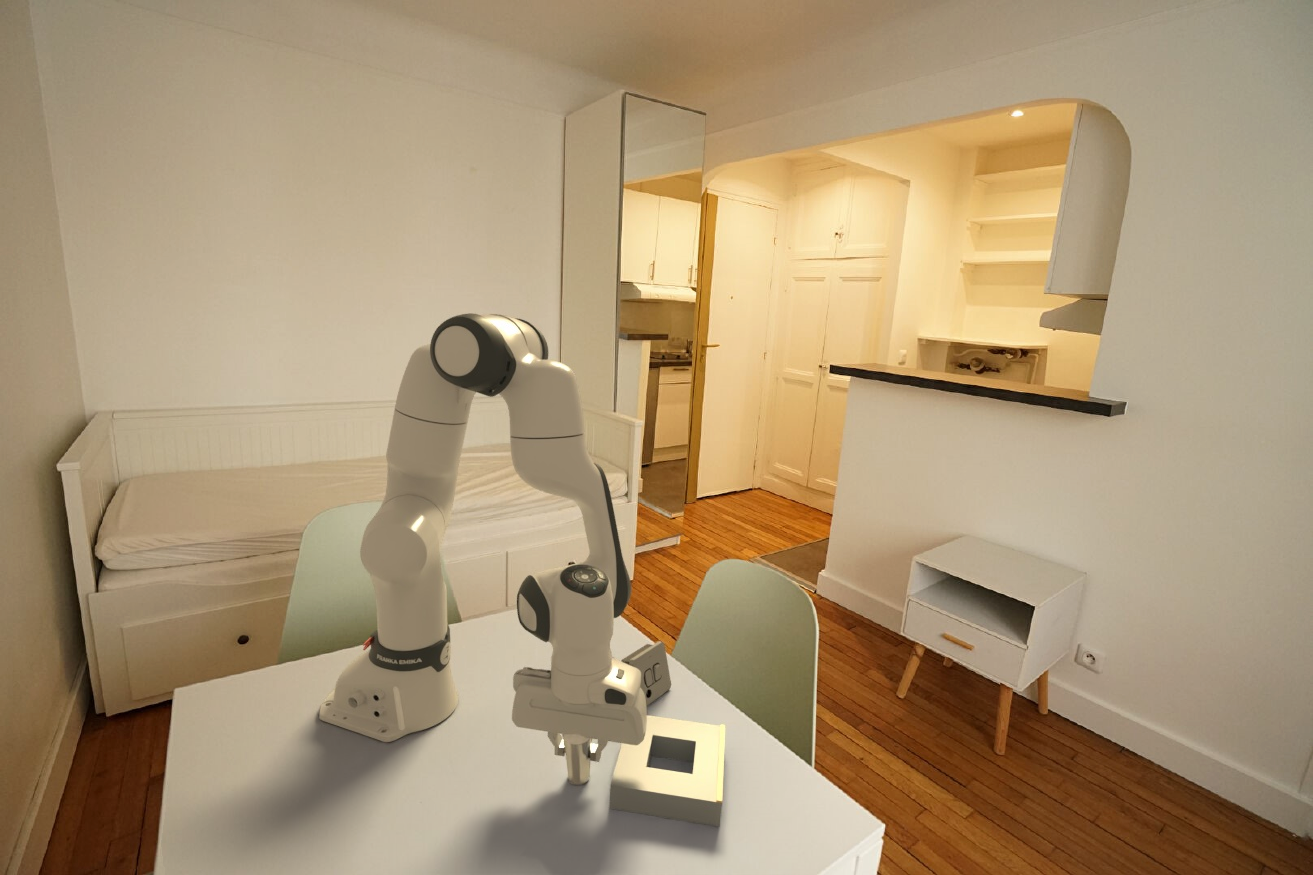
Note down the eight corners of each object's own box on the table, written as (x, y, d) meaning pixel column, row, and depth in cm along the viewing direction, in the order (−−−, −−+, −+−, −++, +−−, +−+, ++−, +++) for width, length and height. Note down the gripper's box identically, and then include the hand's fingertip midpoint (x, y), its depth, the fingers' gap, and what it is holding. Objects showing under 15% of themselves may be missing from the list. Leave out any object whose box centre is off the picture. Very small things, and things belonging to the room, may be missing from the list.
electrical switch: (640, 712, 110) (639, 664, 108) (619, 702, 113) (617, 655, 111) (672, 688, 117) (671, 643, 115) (651, 679, 120) (650, 635, 119)
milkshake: (576, 758, 98) (574, 704, 95) (599, 775, 94) (598, 719, 92) (554, 775, 94) (551, 719, 92) (578, 793, 91) (576, 736, 88)
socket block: (609, 808, 89) (610, 783, 88) (628, 733, 104) (630, 711, 103) (719, 826, 87) (722, 800, 86) (723, 747, 102) (725, 724, 101)
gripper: (505, 678, 88) (504, 759, 91) (644, 698, 86) (639, 781, 89) (520, 653, 95) (519, 731, 98) (651, 672, 92) (646, 751, 95)
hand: (578, 755), depth 93 cm, fingers closed on milkshake, 4 cm apart
